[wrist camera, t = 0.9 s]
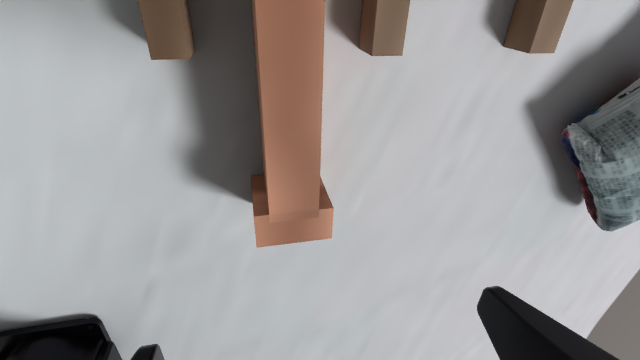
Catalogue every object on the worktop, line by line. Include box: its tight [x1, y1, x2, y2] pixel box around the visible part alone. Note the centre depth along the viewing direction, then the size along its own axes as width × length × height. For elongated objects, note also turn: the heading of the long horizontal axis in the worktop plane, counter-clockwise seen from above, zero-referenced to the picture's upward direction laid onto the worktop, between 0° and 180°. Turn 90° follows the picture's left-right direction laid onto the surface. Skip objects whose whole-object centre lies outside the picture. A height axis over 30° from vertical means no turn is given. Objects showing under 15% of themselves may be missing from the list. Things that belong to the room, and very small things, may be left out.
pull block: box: [251, 0, 333, 247], centre depth 14 cm, size 5×20×4 cm, turn 179°
